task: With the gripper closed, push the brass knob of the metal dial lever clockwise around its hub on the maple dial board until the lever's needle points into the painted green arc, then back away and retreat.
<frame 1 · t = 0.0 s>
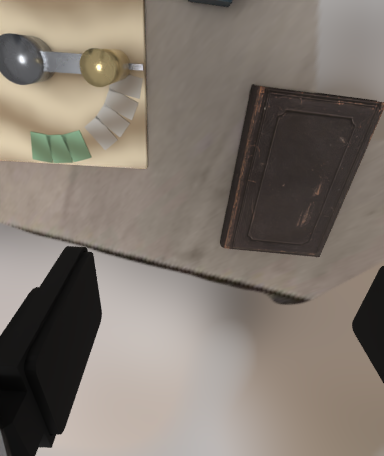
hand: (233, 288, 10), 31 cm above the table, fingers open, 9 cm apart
hardcover book: (287, 178, 41), on the table
lever: (66, 63, 28), point 6 cm above the table, hinge at 0.0°
dial board: (41, 59, 33), on the table
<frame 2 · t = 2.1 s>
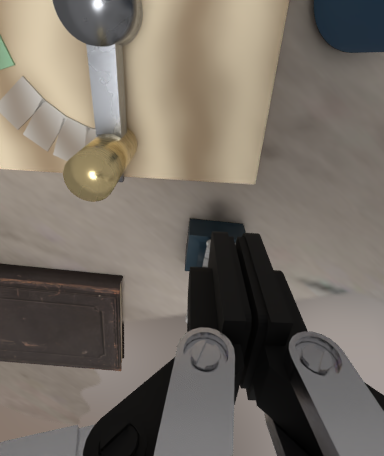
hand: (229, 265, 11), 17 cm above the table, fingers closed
watch: (213, 238, 31), on the table
hardcover book: (36, 309, 38), on the table
lever: (100, 95, 18), point 5 cm above the table, hinge at 0.0°
dial board: (115, 12, 21), on the table
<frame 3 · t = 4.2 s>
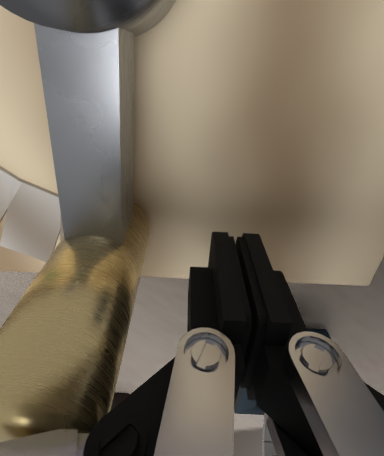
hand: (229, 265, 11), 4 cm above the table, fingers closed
watch: (274, 347, 19), on the table
lever: (73, 166, 7), point 6 cm above the table, hinge at -3.2°, touching gripper
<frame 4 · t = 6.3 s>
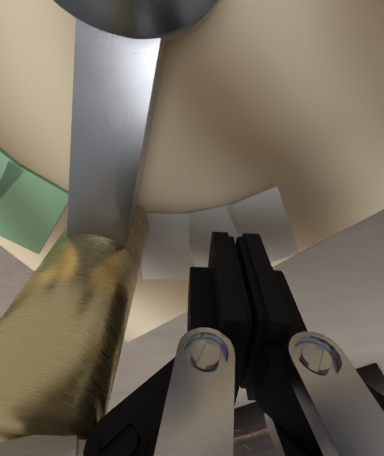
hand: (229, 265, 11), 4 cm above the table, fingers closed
hardcover book: (269, 438, 27), on the table
lever: (94, 167, 7), point 5 cm above the table, hinge at -50.7°, touching gripper
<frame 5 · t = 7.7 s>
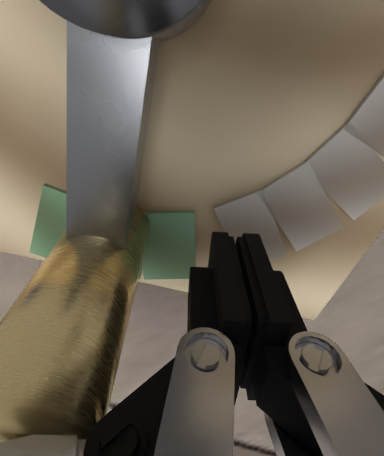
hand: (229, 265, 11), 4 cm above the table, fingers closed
lever: (90, 168, 7), point 5 cm above the table, hinge at -86.2°, touching gripper
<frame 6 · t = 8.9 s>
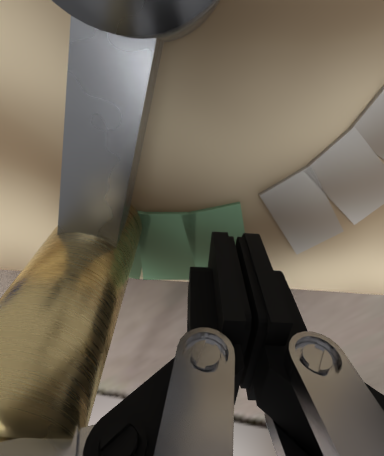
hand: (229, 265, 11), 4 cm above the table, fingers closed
lever: (86, 166, 7), point 6 cm above the table, hinge at -101.4°
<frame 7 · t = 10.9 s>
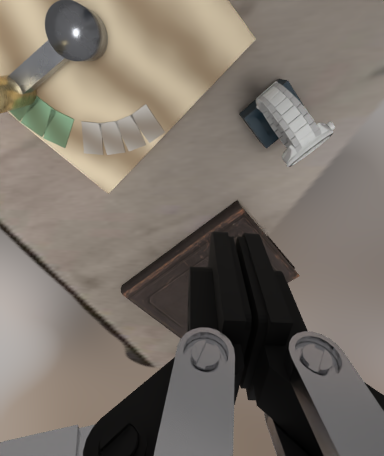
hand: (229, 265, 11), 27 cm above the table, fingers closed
watch: (269, 112, 34), on the table
hardcover book: (207, 274, 47), on the table
lever: (31, 67, 26), point 6 cm above the table, hinge at -101.4°
dial board: (89, 36, 29), on the table
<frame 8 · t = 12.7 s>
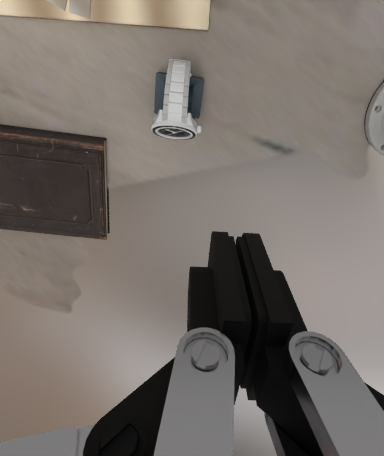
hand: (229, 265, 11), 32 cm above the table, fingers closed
watch: (179, 94, 37), on the table
hardcover book: (32, 179, 44), on the table
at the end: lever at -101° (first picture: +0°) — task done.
